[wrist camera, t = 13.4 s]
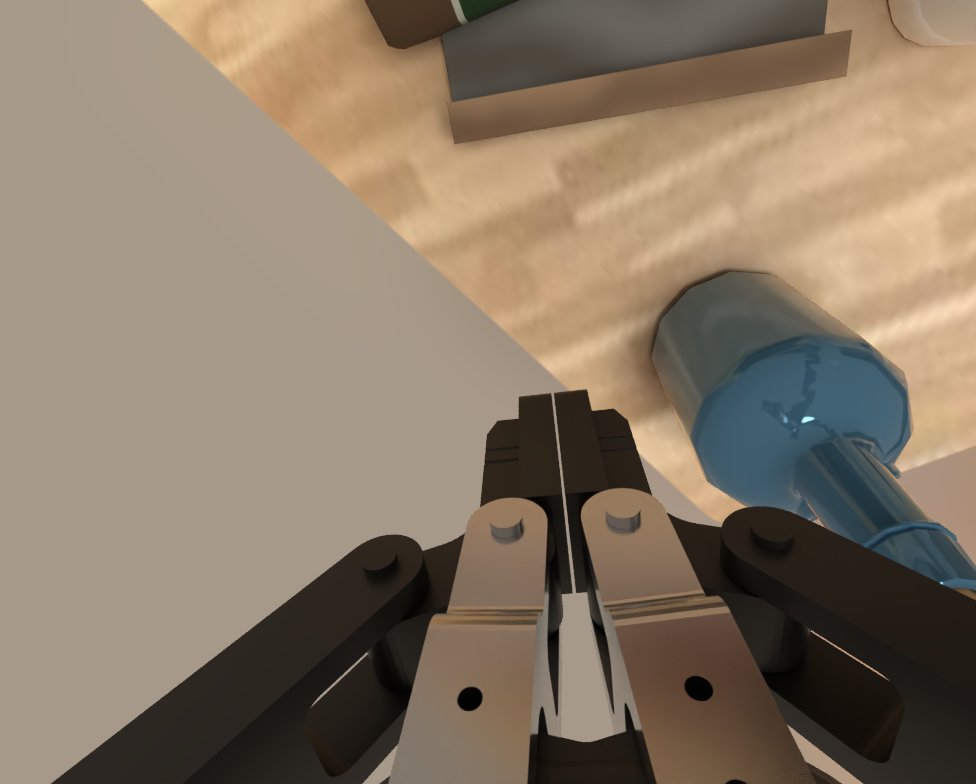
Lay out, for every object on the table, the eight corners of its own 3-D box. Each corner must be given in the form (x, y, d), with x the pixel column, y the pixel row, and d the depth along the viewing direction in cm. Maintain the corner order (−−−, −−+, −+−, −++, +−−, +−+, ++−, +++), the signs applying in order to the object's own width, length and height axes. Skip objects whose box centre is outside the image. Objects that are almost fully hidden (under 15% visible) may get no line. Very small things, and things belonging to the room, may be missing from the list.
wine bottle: (618, 331, 48) (736, 618, 22) (759, 231, 44) (1119, 443, 18) (700, 434, 53) (879, 775, 27) (836, 354, 48) (1213, 668, 22)
